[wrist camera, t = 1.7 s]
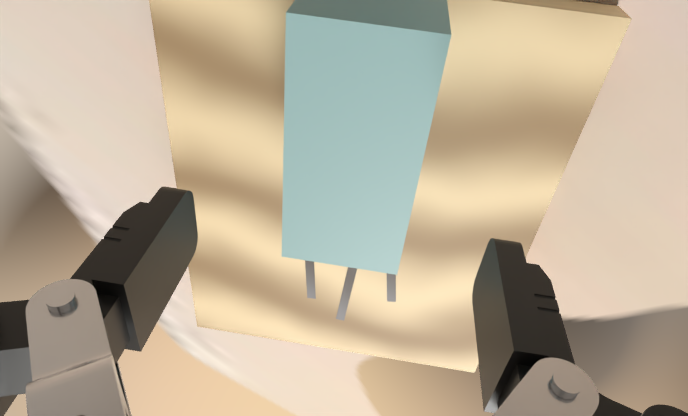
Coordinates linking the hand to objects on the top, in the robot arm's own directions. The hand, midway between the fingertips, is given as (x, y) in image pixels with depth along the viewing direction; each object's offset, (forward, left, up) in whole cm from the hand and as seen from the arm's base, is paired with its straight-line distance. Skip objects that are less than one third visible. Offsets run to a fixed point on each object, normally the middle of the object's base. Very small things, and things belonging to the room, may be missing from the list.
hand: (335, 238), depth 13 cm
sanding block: (0, 0, -9) cm, 9 cm away
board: (+7, 0, -11) cm, 13 cm away
